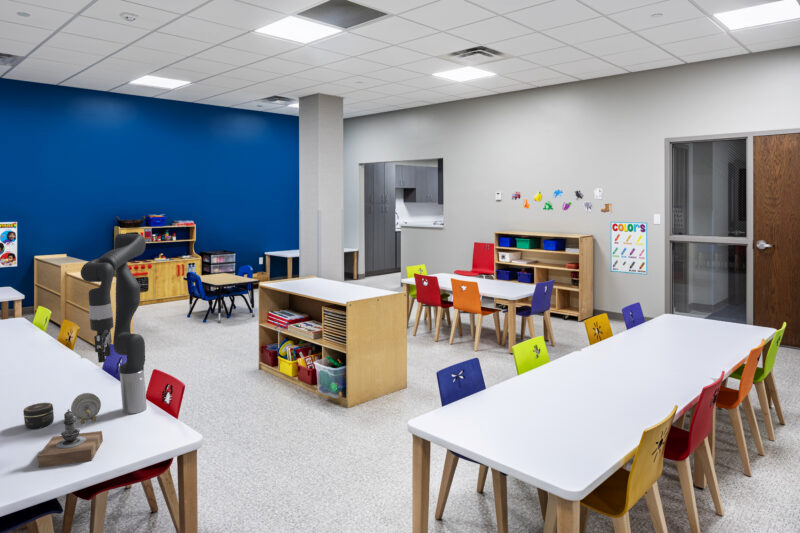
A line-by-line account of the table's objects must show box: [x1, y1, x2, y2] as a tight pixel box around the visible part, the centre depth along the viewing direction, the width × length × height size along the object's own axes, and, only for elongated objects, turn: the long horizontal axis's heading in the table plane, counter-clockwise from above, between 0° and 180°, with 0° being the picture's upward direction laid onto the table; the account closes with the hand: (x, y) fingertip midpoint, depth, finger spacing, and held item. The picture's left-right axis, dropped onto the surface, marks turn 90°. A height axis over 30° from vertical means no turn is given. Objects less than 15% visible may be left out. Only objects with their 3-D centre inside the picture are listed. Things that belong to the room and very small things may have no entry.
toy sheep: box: [70, 392, 102, 425], centre depth 222 cm, size 11×17×11 cm, turn 39°
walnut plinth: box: [37, 430, 104, 468], centre depth 193 cm, size 16×16×4 cm
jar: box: [22, 402, 55, 430], centre depth 218 cm, size 10×10×8 cm
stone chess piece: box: [60, 408, 81, 445], centre depth 192 cm, size 6×6×12 cm
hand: (104, 358), depth 204 cm, fingers open, 8 cm apart
